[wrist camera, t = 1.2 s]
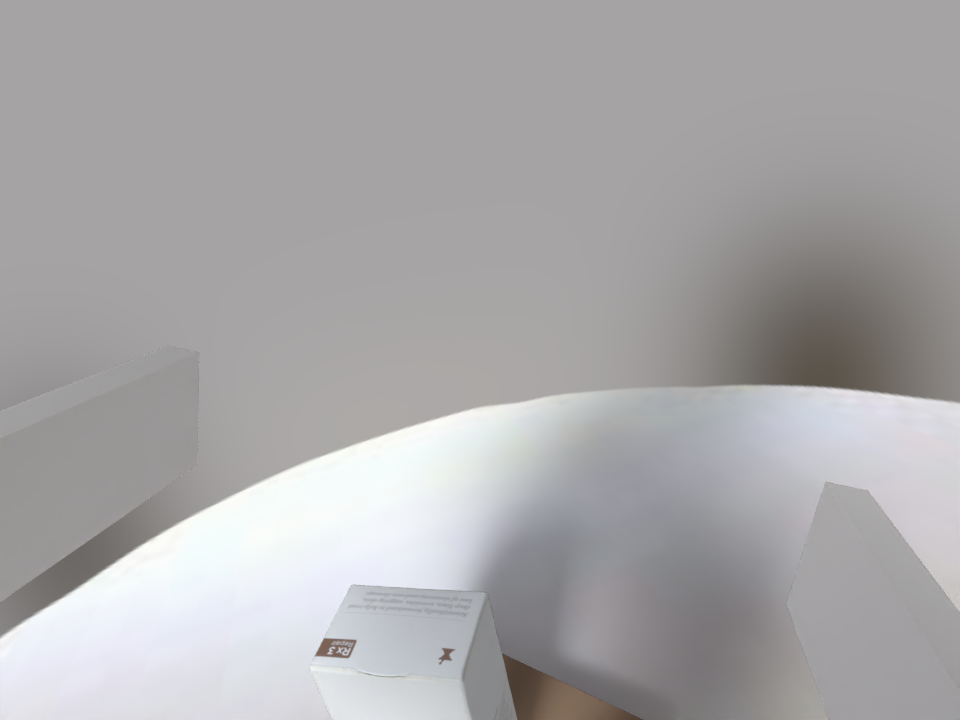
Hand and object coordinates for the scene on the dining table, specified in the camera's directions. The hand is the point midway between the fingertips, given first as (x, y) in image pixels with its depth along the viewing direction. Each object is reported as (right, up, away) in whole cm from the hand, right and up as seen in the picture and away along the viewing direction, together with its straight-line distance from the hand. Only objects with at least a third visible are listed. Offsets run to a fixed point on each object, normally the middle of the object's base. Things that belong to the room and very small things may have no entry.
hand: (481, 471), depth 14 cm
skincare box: (-1, -18, +17) cm, 25 cm away
